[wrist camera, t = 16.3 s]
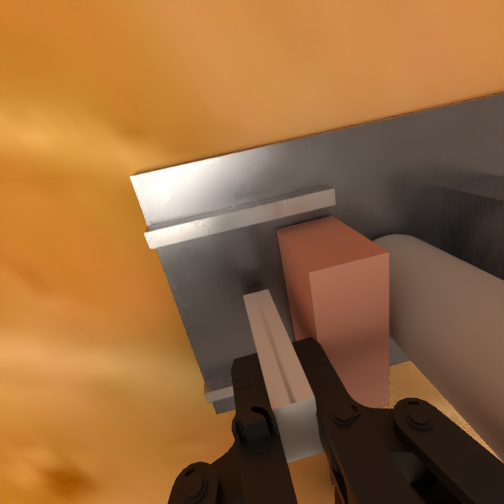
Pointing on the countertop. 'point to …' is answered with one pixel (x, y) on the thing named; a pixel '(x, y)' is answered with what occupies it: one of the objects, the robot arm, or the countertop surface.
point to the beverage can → (450, 329)
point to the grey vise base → (320, 214)
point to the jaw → (341, 301)
